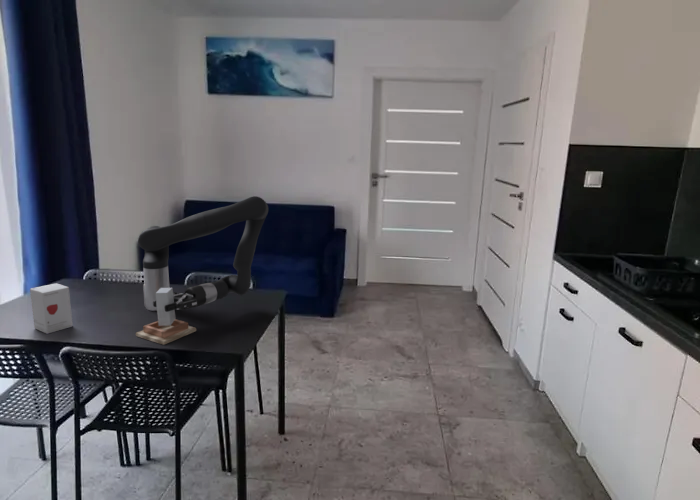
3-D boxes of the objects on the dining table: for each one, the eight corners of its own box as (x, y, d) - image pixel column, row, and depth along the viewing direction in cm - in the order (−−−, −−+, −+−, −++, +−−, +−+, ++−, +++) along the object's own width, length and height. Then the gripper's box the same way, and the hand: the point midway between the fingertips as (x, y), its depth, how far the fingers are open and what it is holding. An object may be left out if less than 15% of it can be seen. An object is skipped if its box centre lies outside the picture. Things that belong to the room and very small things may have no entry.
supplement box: (46, 334, 156) (41, 293, 153) (33, 328, 161) (28, 288, 158) (73, 326, 164) (69, 286, 161) (61, 321, 168) (56, 282, 165)
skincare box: (163, 319, 162) (160, 287, 159) (175, 319, 162) (173, 287, 159) (157, 326, 156) (154, 292, 153) (170, 325, 156) (167, 292, 153)
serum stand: (135, 336, 157) (135, 326, 156) (169, 323, 169) (168, 314, 168) (163, 344, 150) (163, 335, 149) (196, 331, 162) (195, 322, 162)
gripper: (189, 281, 172) (147, 291, 159) (212, 288, 163) (169, 300, 150) (190, 300, 173) (149, 312, 161) (213, 308, 165) (171, 321, 152)
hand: (159, 306), depth 156 cm, fingers closed on skincare box, 7 cm apart
